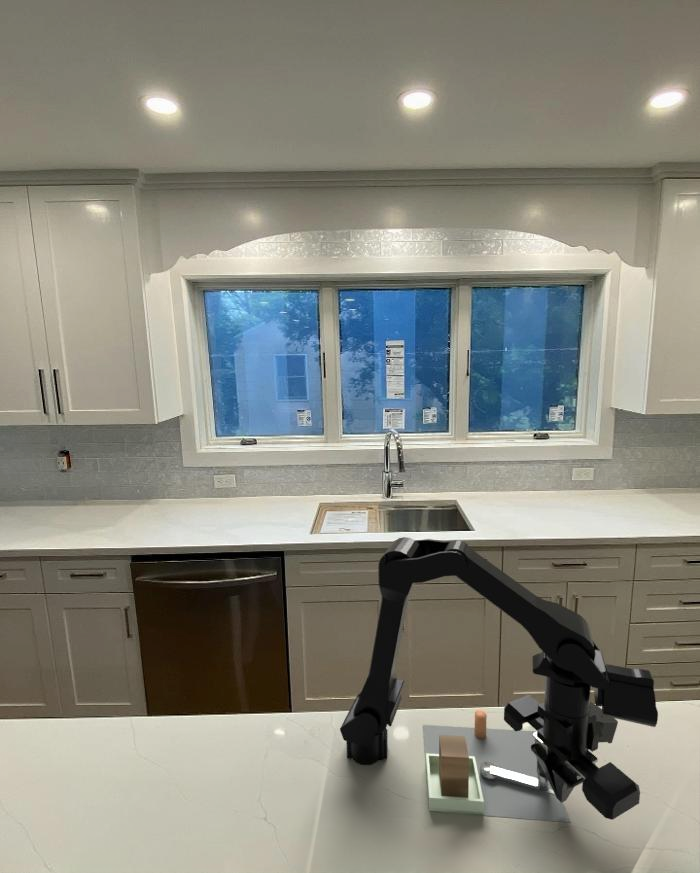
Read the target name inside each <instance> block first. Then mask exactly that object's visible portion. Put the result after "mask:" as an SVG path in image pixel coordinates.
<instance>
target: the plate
mask: <svg viewBox="0 0 700 873" xmlns="http://www.w3.org/2000/svg"><path fill="white" fill-rule="evenodd" d="M536 732H537V730H536V731H535V730H523V729H522V730H520V731H515V730H514V729H505V728H504V729H501V728H500V729H499V728H487V713H486V712H485V711H484V710H482V709H478V710H476V711H474V727H469V726H468V727H466V726H464V727H463V726H450V725H449V726H448V725H435V724H434V725H432V724H431V725H430V724H422V735H423V736H422V737H423V749H424V762H425V763H424V765H425V767H426V753H429V754H439V735H452V736H465V739H466V744H467V750H468V755H469V756H475V760H476V765H477V770H478V775H479V780H480V785H481V790H482V795H483V800H484V815H479V814H466V813H453V812H440V811H429V810H428V812H429V813H443V814H455V815H465V816H466V815H468V816H469V815H471V816H479V817H480V816H481V817H482V816H483V817H494V818H495V817H497V818H505V819H506V818H508V819H518V820H522V819H523V820H534V821H545V822H547V821H548V822H558V823H569V824H570V823H571V820H570V817H569V814H568V813H567V809H566V807H565V804H564V802H562V803H561V802H560V801H559V800H558V799H557V798H556V795H555V793H554V791H553V789H552V787H551V785H550V789H549V791H540V790H536V789H533V788H529V787H526V786H522V785H519V784H515V783H512V782H508V781H505V780H501V779H498V778H497V779H495V780H487V779H485V778H484V777H483V776H482V775H481V774H480V765H481V764H482V763H483V762H491V763H493V764H494V765H495V766H496V767H497V768H501V769H504V770H508V771H511V772H515V773H519V774H522V775H526V776H529V777H533V778H537V757H536V755H535V754H534V753H533V752H532V750H531V745H532V744H535V738H534V737H533V734H534V733H536ZM425 777H426V781H427V771H426V770H425ZM426 791H427V794H426V795H428V784H427V783H426ZM427 803H428V804H427V806H428V809H429V798H428V797H427Z"/></svg>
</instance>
